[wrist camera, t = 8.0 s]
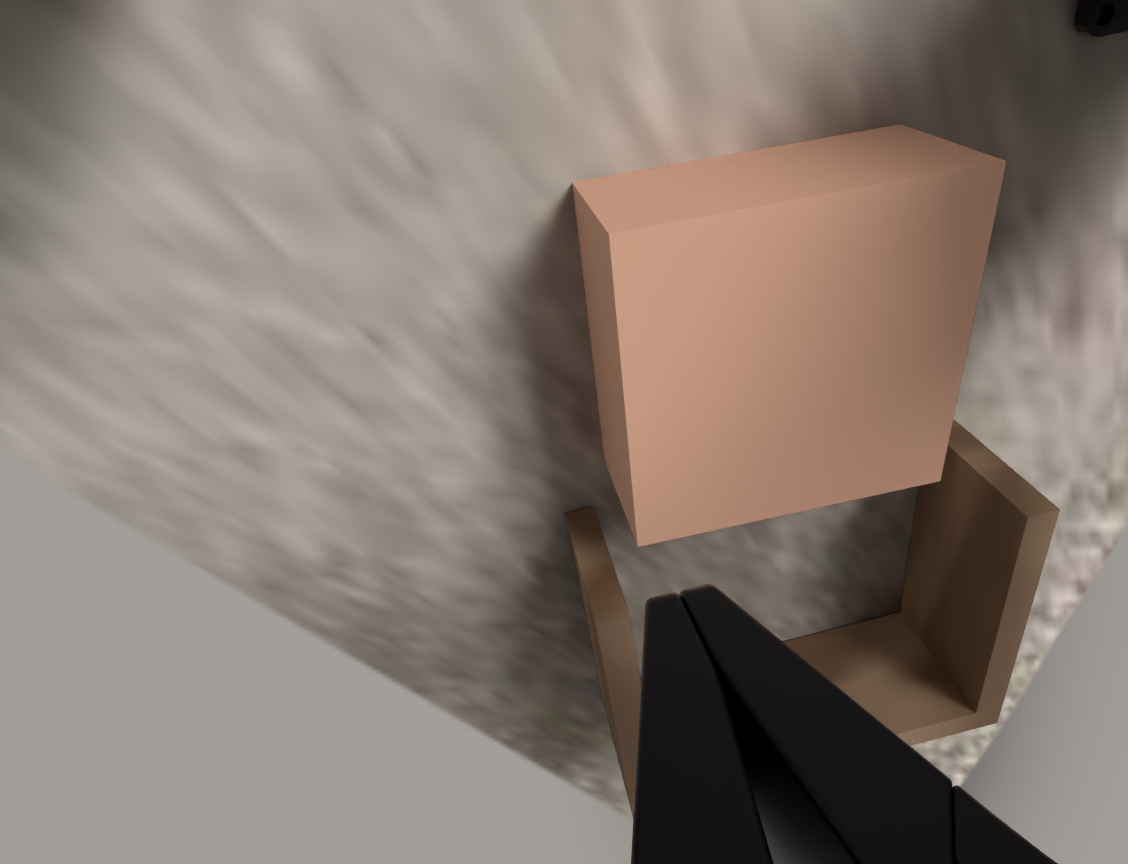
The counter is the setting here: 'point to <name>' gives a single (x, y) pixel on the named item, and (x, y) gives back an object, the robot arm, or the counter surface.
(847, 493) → the terracotta block
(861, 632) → the walnut stall
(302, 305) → the counter surface
